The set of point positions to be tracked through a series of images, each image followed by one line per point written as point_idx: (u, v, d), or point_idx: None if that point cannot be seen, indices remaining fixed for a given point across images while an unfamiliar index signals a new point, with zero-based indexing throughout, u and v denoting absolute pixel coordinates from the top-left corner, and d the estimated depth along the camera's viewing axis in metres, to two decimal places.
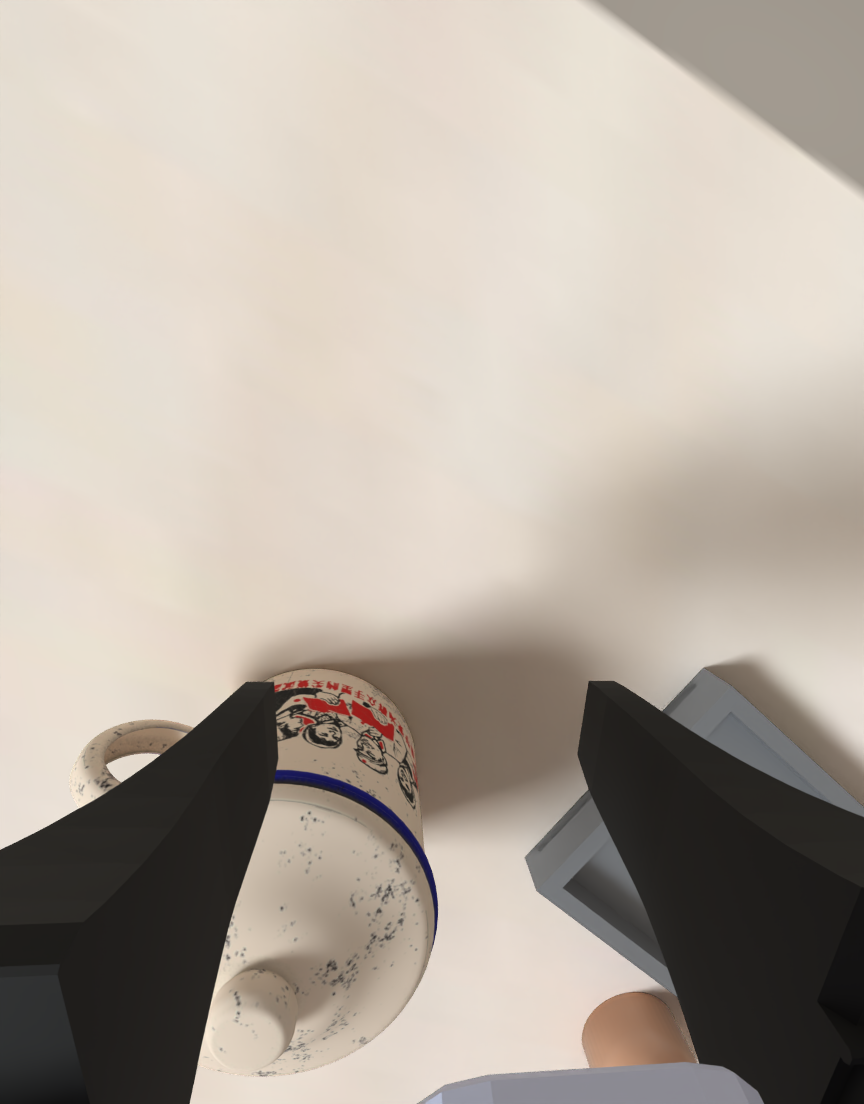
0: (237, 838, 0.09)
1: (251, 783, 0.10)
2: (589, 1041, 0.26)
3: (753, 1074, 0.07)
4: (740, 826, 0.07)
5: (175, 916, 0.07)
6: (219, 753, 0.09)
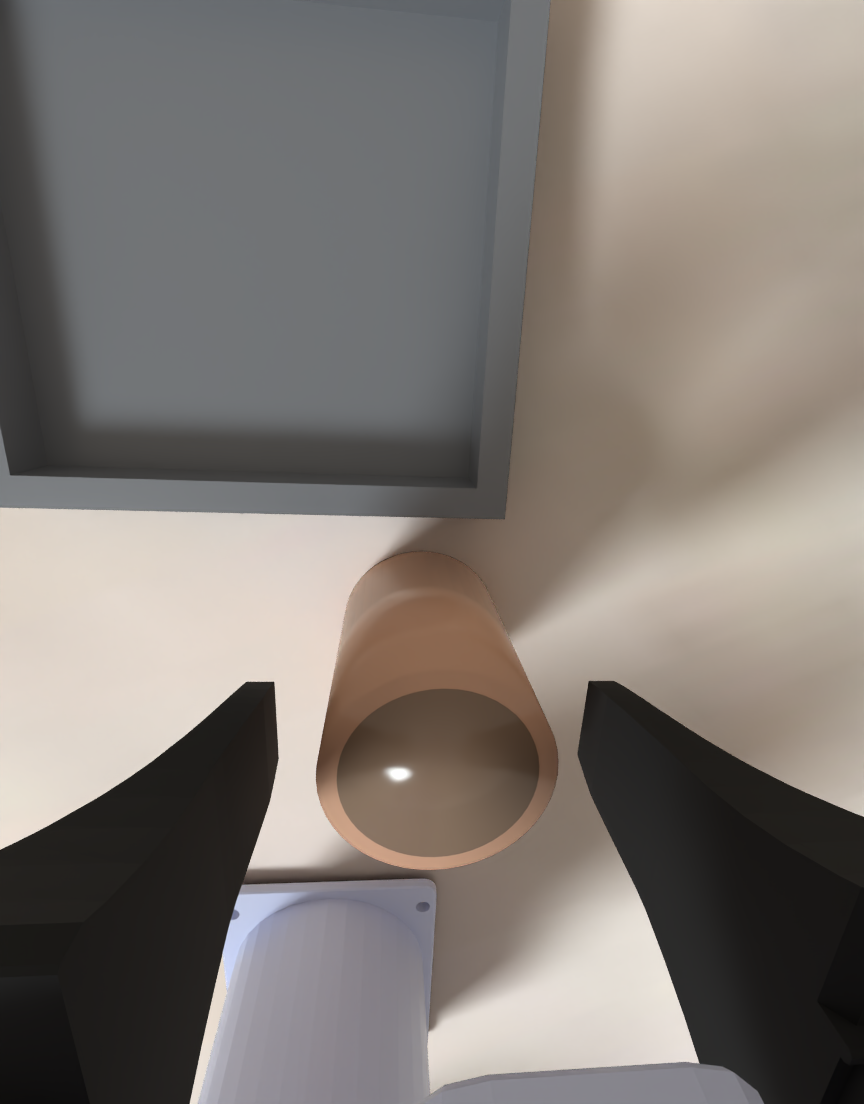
0: (237, 838, 0.09)
1: (251, 783, 0.10)
2: None
3: (753, 1074, 0.07)
4: (740, 826, 0.07)
5: (175, 916, 0.07)
6: (219, 753, 0.09)
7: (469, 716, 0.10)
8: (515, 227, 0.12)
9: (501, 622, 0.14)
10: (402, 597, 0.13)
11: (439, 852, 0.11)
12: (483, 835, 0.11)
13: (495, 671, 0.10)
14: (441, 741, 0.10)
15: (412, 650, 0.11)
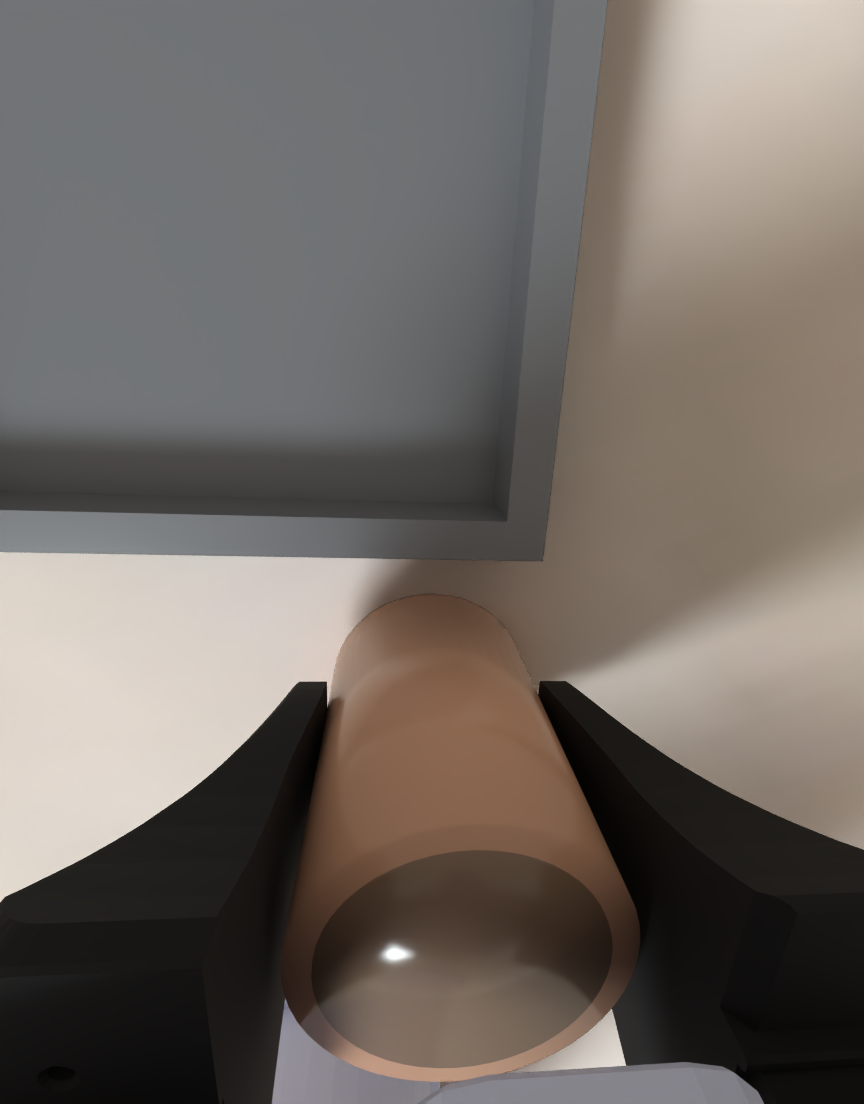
0: (302, 836, 0.10)
1: (312, 782, 0.10)
2: None
3: None
4: (659, 828, 0.07)
5: (266, 913, 0.07)
6: (291, 752, 0.09)
7: (510, 886, 0.07)
8: (568, 161, 0.09)
9: (537, 696, 0.11)
10: (408, 671, 0.10)
11: (462, 1061, 0.08)
12: (527, 1038, 0.08)
13: (551, 816, 0.07)
14: (469, 922, 0.07)
15: (424, 778, 0.07)
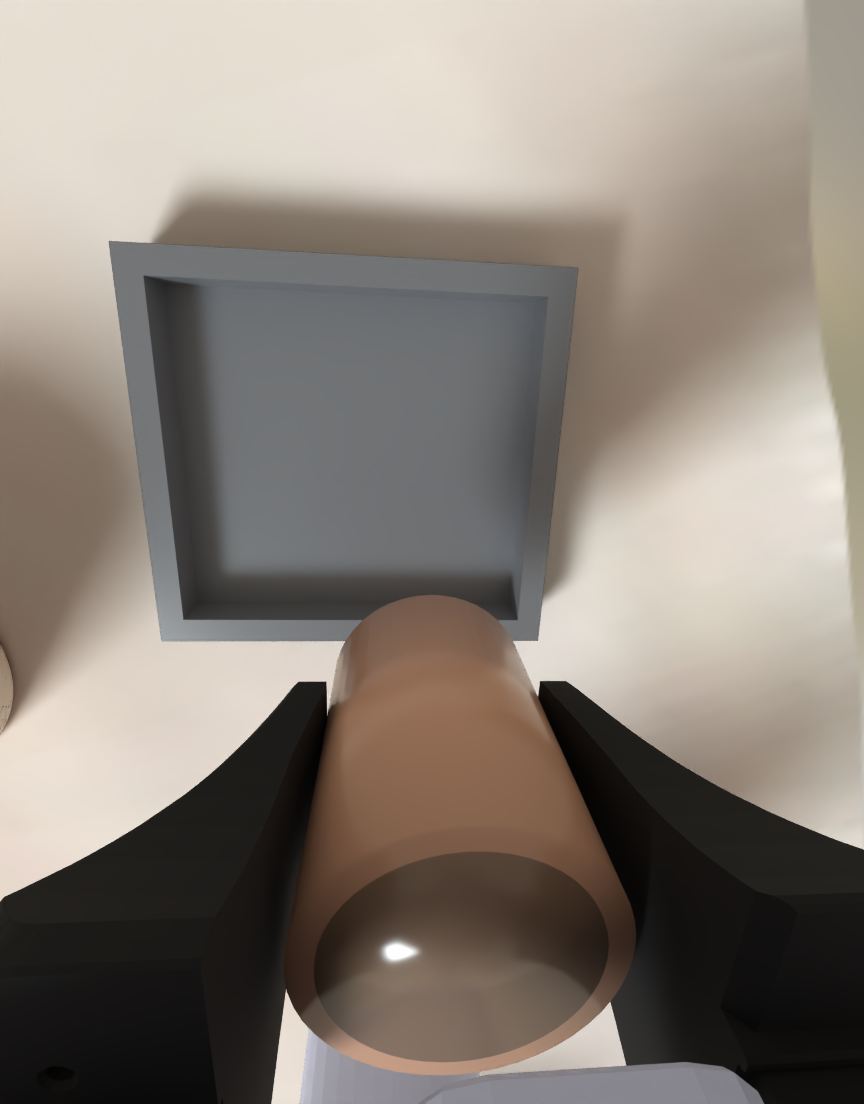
0: (301, 836, 0.10)
1: (311, 782, 0.10)
2: None
3: None
4: (659, 828, 0.07)
5: (265, 913, 0.07)
6: (290, 752, 0.09)
7: (506, 885, 0.07)
8: (548, 449, 0.17)
9: (535, 694, 0.11)
10: (405, 674, 0.10)
11: (465, 1055, 0.08)
12: (527, 1032, 0.08)
13: (544, 816, 0.07)
14: (466, 921, 0.07)
15: (420, 781, 0.07)
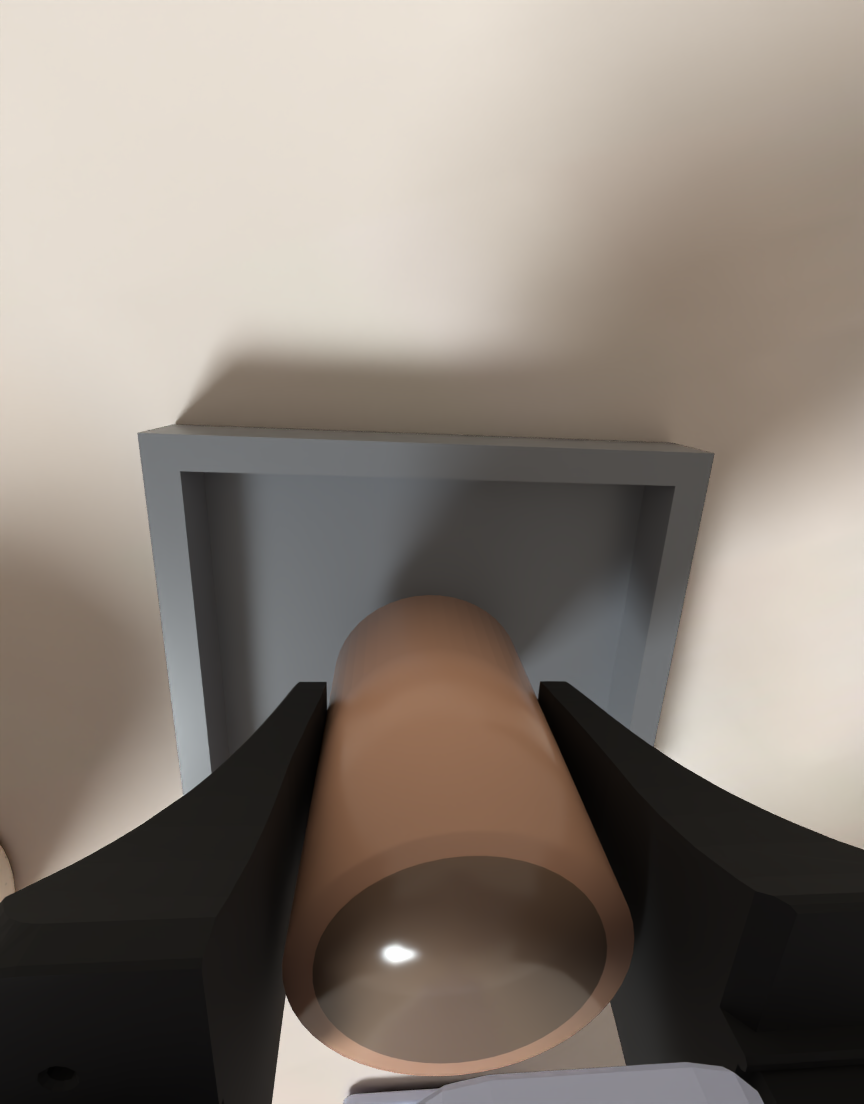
0: (302, 836, 0.10)
1: (311, 782, 0.10)
2: None
3: None
4: (659, 828, 0.07)
5: (266, 913, 0.07)
6: (290, 752, 0.09)
7: (502, 889, 0.07)
8: (661, 651, 0.14)
9: (533, 695, 0.11)
10: (403, 676, 0.10)
11: (465, 1056, 0.08)
12: (527, 1033, 0.08)
13: (540, 820, 0.07)
14: (463, 925, 0.07)
15: (416, 786, 0.07)
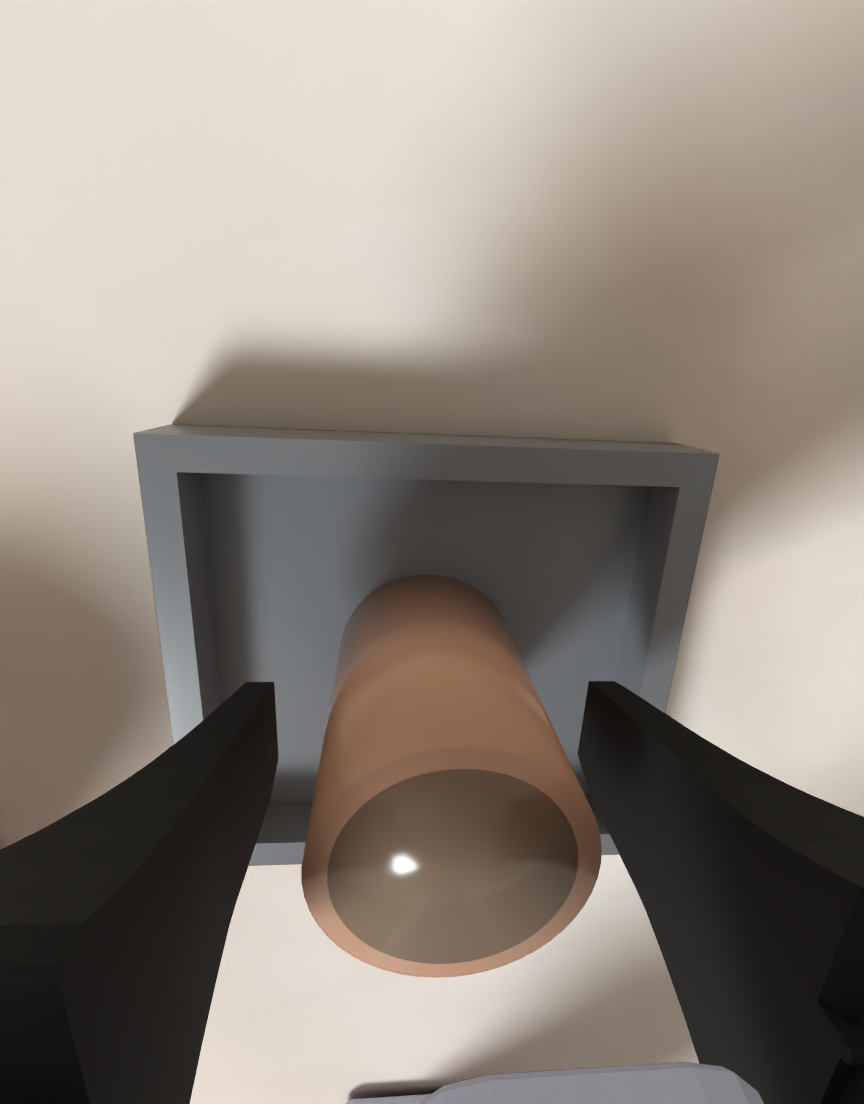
0: (237, 838, 0.09)
1: (251, 783, 0.10)
2: None
3: (753, 1074, 0.07)
4: (740, 826, 0.07)
5: (175, 916, 0.07)
6: (219, 753, 0.09)
7: (489, 800, 0.08)
8: (664, 654, 0.14)
9: (520, 658, 0.12)
10: (402, 638, 0.11)
11: (458, 957, 0.09)
12: (511, 936, 0.09)
13: (519, 742, 0.08)
14: (455, 831, 0.08)
15: (415, 717, 0.09)
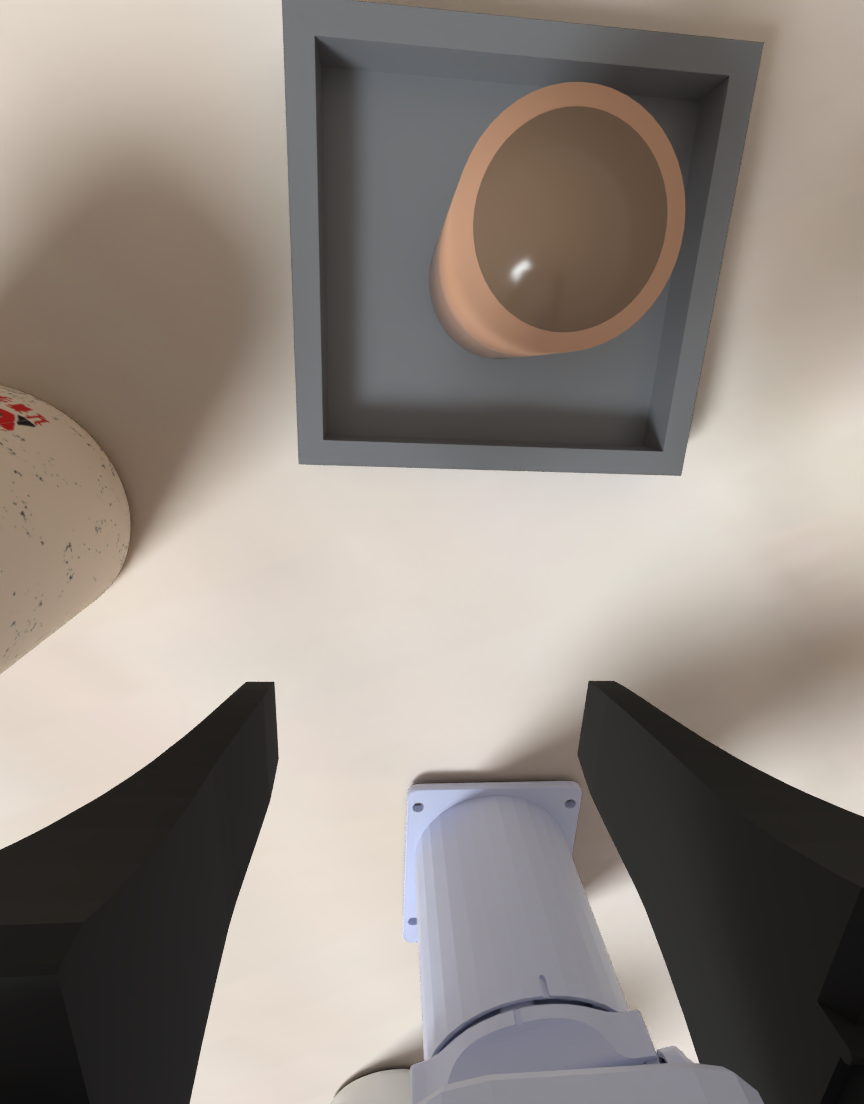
0: (237, 838, 0.09)
1: (251, 783, 0.10)
2: (439, 314, 0.17)
3: (753, 1074, 0.07)
4: (740, 826, 0.07)
5: (175, 916, 0.07)
6: (219, 753, 0.09)
7: (601, 146, 0.10)
8: (712, 254, 0.16)
9: None
10: None
11: (568, 327, 0.11)
12: (610, 305, 0.11)
13: (624, 105, 0.11)
14: (574, 176, 0.11)
15: None
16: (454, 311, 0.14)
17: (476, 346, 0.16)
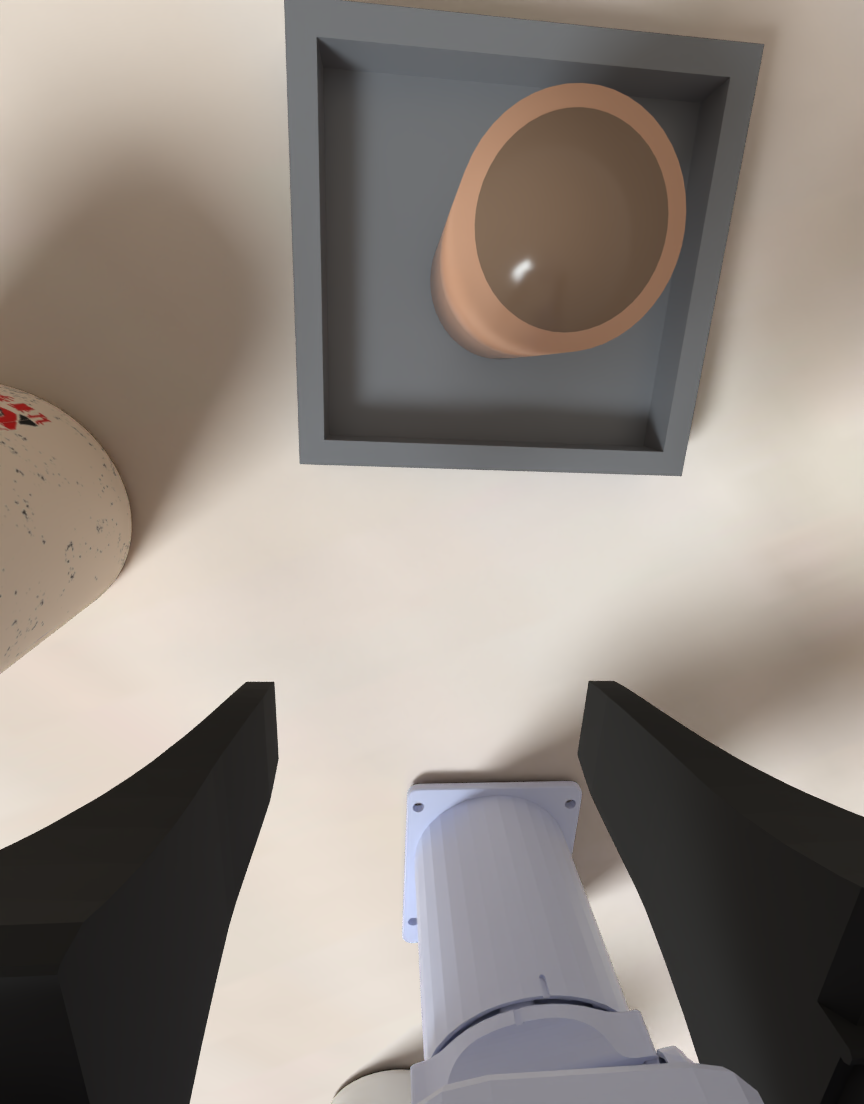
0: (237, 838, 0.09)
1: (251, 783, 0.10)
2: (440, 314, 0.17)
3: (753, 1074, 0.07)
4: (739, 826, 0.07)
5: (175, 916, 0.07)
6: (219, 753, 0.09)
7: (602, 146, 0.11)
8: (713, 255, 0.16)
9: None
10: None
11: (569, 327, 0.12)
12: (611, 306, 0.11)
13: (626, 106, 0.11)
14: (576, 176, 0.11)
15: None
16: (455, 311, 0.14)
17: (477, 346, 0.16)
